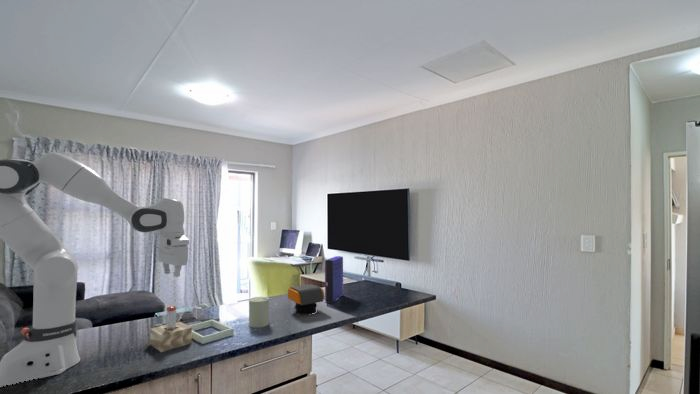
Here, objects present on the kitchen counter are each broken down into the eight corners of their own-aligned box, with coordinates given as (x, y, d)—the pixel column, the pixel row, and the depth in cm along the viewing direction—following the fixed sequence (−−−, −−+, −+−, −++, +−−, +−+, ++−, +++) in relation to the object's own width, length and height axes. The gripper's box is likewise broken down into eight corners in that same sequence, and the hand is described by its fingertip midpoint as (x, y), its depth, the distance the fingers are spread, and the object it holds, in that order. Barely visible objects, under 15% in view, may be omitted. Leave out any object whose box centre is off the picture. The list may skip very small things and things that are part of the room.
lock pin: (168, 346, 130) (168, 309, 130) (164, 344, 132) (165, 307, 132) (176, 343, 132) (177, 307, 132) (173, 341, 134) (174, 305, 135)
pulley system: (155, 324, 161) (153, 332, 148) (155, 314, 162) (154, 321, 148) (216, 317, 174) (220, 324, 160) (217, 308, 174) (220, 314, 161)
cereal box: (336, 295, 210) (335, 256, 211) (343, 295, 209) (342, 256, 210) (325, 302, 194) (324, 260, 195) (332, 302, 192) (332, 260, 193)
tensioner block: (160, 354, 124) (161, 335, 124) (150, 347, 131) (150, 328, 132) (191, 345, 132) (191, 327, 132) (179, 338, 140) (180, 321, 140)
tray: (202, 346, 131) (202, 337, 132) (183, 335, 143) (183, 327, 144) (233, 336, 141) (233, 328, 141) (212, 327, 153) (212, 319, 153)
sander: (303, 302, 194) (303, 279, 195) (325, 312, 173) (325, 287, 174) (279, 306, 186) (279, 283, 186) (299, 318, 165) (299, 291, 166)
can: (266, 327, 152) (266, 300, 153) (246, 327, 152) (246, 300, 153) (271, 321, 161) (271, 295, 162) (251, 321, 161) (252, 295, 162)
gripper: (153, 239, 138) (153, 273, 138) (173, 241, 124) (173, 279, 124) (169, 237, 143) (169, 271, 142) (191, 240, 129) (191, 277, 129)
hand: (171, 275), depth 133 cm, fingers open, 8 cm apart
